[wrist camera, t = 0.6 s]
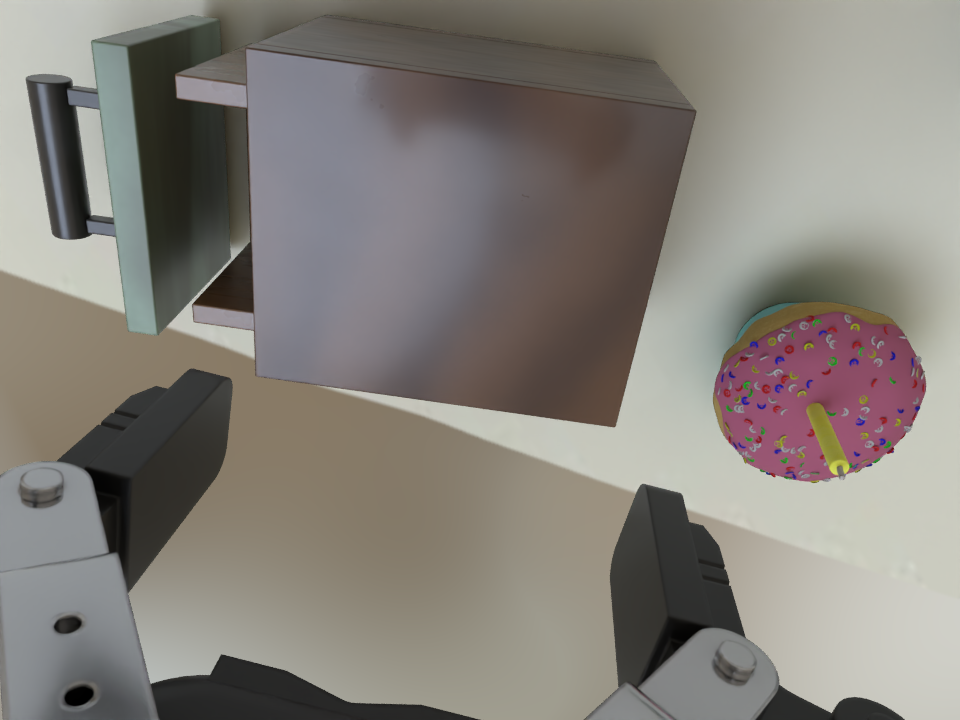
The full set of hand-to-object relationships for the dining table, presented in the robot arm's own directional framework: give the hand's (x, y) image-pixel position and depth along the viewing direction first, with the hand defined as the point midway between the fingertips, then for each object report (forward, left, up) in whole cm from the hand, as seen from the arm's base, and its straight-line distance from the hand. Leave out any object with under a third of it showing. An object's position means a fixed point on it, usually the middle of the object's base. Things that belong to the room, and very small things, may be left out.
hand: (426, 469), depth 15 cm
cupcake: (+7, +15, -22) cm, 27 cm away
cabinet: (+1, -1, -22) cm, 22 cm away
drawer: (+1, -9, -21) cm, 23 cm away
